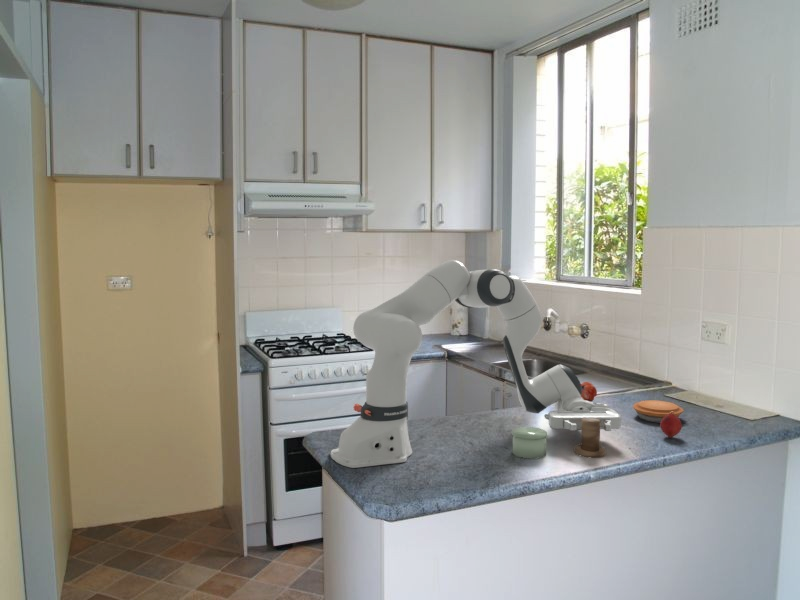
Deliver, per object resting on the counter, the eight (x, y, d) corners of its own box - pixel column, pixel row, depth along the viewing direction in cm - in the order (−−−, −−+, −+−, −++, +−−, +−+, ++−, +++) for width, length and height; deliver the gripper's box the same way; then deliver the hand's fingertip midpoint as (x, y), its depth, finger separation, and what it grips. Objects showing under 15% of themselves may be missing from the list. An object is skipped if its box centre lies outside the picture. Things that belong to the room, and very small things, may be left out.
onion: (668, 441, 197) (669, 414, 196) (655, 435, 202) (656, 409, 202) (685, 439, 198) (686, 413, 198) (672, 434, 204) (673, 408, 203)
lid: (590, 459, 181) (591, 426, 180) (567, 451, 188) (568, 418, 187) (612, 454, 185) (613, 422, 184) (589, 446, 192) (590, 414, 191)
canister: (527, 461, 179) (527, 439, 179) (504, 451, 188) (504, 430, 187) (554, 455, 184) (554, 433, 184) (530, 445, 193) (531, 425, 192)
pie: (674, 412, 228) (675, 398, 228) (689, 426, 213) (690, 410, 212) (627, 411, 230) (628, 397, 229) (639, 424, 214) (639, 409, 214)
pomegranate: (581, 404, 247) (566, 390, 242) (593, 387, 248) (577, 374, 243) (595, 411, 241) (580, 397, 236) (607, 394, 241) (591, 380, 237)
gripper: (543, 403, 199) (553, 416, 185) (612, 404, 199) (628, 416, 185) (542, 424, 200) (553, 439, 186) (611, 424, 200) (627, 439, 186)
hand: (591, 428), depth 186 cm, fingers open, 8 cm apart
